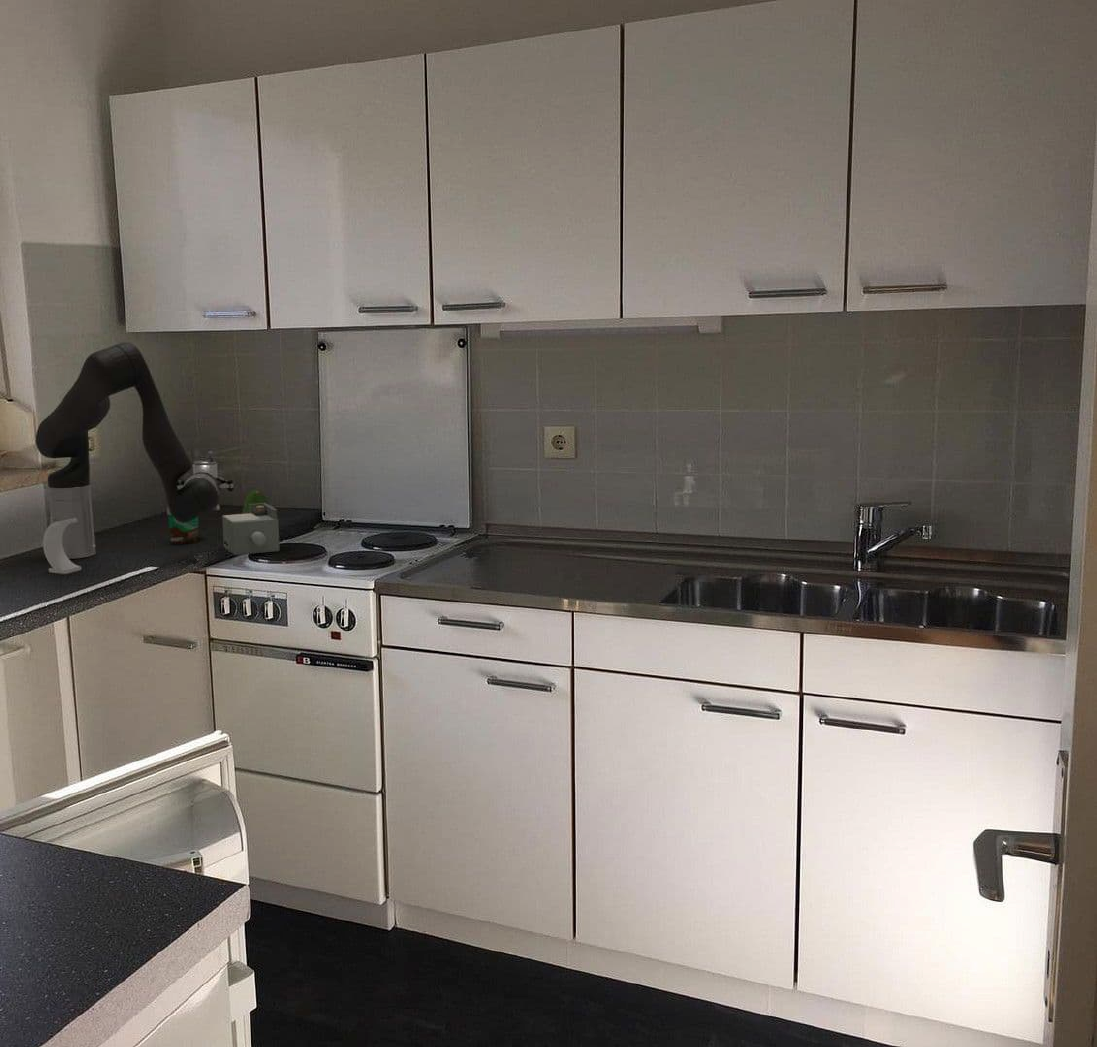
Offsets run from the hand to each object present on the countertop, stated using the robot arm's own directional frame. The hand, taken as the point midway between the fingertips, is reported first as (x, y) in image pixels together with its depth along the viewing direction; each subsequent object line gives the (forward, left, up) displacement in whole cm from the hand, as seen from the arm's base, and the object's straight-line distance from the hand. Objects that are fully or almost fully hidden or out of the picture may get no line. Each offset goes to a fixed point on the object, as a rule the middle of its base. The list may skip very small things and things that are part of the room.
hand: (206, 481), depth 258 cm
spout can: (-1, -2, -6) cm, 7 cm away
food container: (-2, +19, -18) cm, 26 cm away
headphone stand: (-34, -4, -18) cm, 38 cm away
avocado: (+16, +19, -18) cm, 31 cm away
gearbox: (+10, -2, -18) cm, 20 cm away
